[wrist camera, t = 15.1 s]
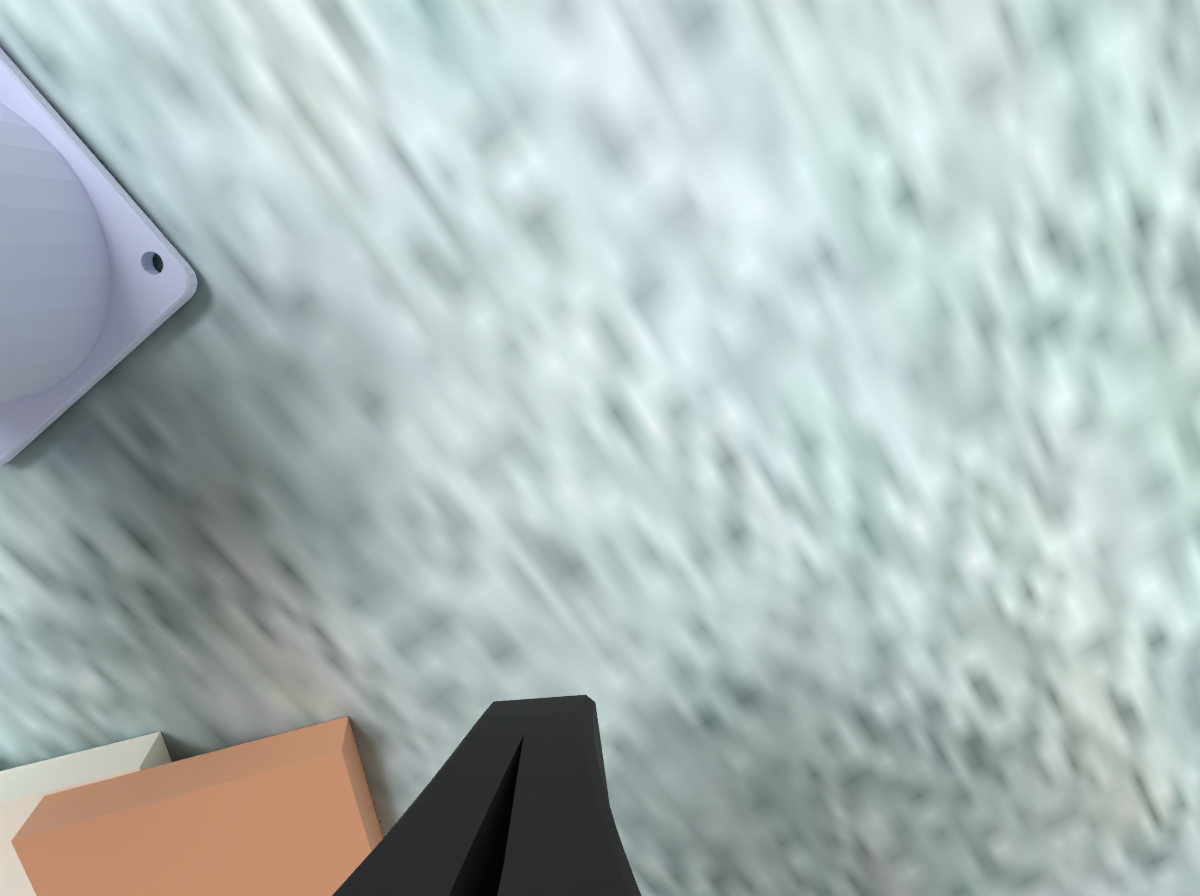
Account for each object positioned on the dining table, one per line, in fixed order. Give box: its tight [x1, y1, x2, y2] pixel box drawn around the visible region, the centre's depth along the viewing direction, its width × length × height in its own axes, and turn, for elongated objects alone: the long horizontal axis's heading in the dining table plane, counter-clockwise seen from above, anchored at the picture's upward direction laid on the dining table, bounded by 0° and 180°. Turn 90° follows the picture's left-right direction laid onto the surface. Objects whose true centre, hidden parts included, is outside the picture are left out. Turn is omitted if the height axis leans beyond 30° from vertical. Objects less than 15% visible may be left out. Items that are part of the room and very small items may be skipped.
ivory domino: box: [0, 731, 172, 896], centre depth 20 cm, size 2×4×8 cm
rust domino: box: [11, 716, 383, 896], centre depth 19 cm, size 2×4×8 cm
